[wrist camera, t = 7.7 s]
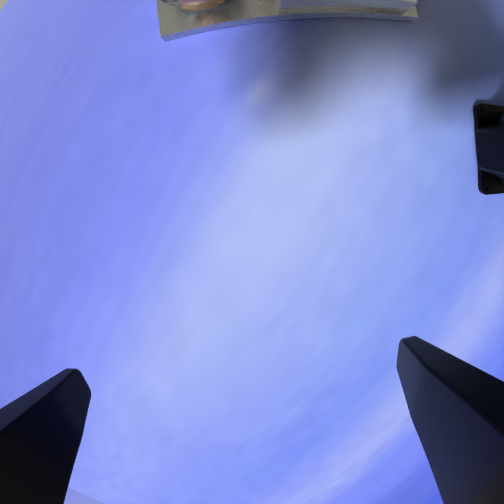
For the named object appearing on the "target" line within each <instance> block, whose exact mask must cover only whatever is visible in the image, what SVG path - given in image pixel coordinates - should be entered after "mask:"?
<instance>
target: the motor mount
mask: <svg viewBox="0 0 504 504" xmlns="http://www.w3.org/2000/svg"><path fill="white" fill-rule="evenodd" d="M417 3H418V2H417V0H157V9H158V17H159V26H160V34H161V38H162V39H164V40H165V41H169V40H173V39H177V38H181V37H185V36H189V35H193V34H198V33H202V32H207V31H212V30H217V29H222V28H228V27H234V26H240V25H247V24H254V23H262V22H271V21H281V20H293V19H309V18H373V19H388V20H400V21H409V22H413V21H414V20H416V19H417V18H419V17H418V13H417V10H416V6H415V4H417Z"/></svg>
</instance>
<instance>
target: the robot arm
mask: <svg viewBox="0 0 504 504" xmlns="http://www.w3.org/2000/svg"><path fill="white" fill-rule="evenodd" d="M479 108H480V110H481V113H480V112H479ZM473 111H474V120H475V129H476V141H477V156H478V187H479V191H480V192H481V193H482V194H486V195H488V194H499V193H504V106H497V105H489V104H475V105H474V108H473ZM484 186H486V187H485V190H484ZM397 371H398V375H399V378H400V381H401V384H402V388H403V391H404V395H405V398H406V401H407V405H408V409H409V412H410V415H411V418H412V421H413V424H414V426H415V429H416V431H417V433H418V436H419V438H420V441H421V443H422V446H423V449H424V451H425V454H426V456H427V459H428V461H429V464H430V467H431V469H432V472H433V475H434V478H435V480H436V483H437V486H438V489H439V492H440V494H441V497H442V500H443V503H444V504H504V382H503V381H501V380H499V379H498V378H496V377H494V376H492V375H490V374H488V373H486V372H484V371H482V370H480V369H478V368H476V367H474V366H472V365H471V364H469V363H467V362H465V361H463V360H461V359H459V358H457V357H455V356H453V355H451V354H449V353H447V352H445V351H444V350H442V349H440V348H438V347H436V346H434V345H432V344H430V343H428V342H426V341H424V340H422V339H420V338H418V337H416V336H411V337H407V338H403V339H401V340H400V342H399V349H398V357H397ZM90 399H91V390H90V388H89V386H88V384H87V382H86V381H85V379H84V377H83V375H82V373H81V372H80V371H79V370H78V369H71V368H68V369H65V370H63V371H62V372H60V373H58V374H57V375H55V376H53V377H52V378H50V379H49V380H47V381H45V382H44V383H42V384H40V385H39V386H37V387H36V388H34V389H32V390H31V391H29V392H27V393H26V394H24V395H22V396H21V397H19V398H18V399H16V400H14V401H13V402H11V403H9V404H8V405H6V406H4V407H3V408H1V409H0V504H64V500H65V496H66V492H67V488H68V485H69V481H70V477H71V474H72V470H73V466H74V463H75V459H76V456H77V453H78V449H79V446H80V443H81V439H82V435H83V431H84V426H85V421H86V416H87V412H88V407H89V403H90Z"/></svg>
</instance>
